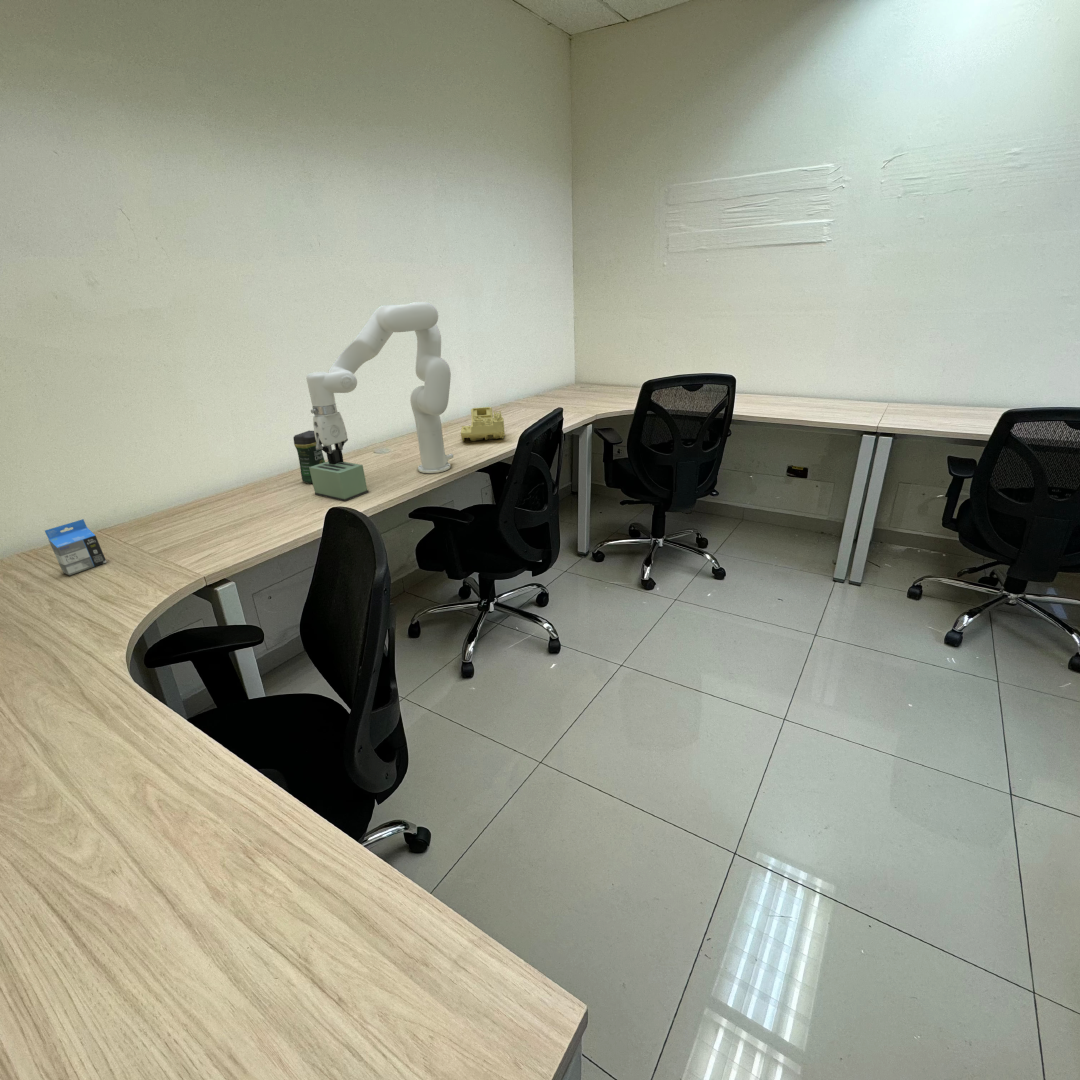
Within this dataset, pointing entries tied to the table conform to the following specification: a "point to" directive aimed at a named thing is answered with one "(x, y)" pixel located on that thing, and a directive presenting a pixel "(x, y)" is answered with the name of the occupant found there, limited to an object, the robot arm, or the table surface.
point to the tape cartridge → (75, 547)
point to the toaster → (338, 480)
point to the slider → (336, 455)
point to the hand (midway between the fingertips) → (336, 462)
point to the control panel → (484, 425)
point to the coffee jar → (307, 453)
